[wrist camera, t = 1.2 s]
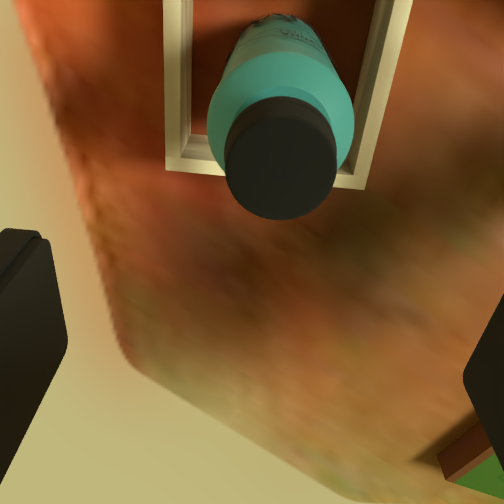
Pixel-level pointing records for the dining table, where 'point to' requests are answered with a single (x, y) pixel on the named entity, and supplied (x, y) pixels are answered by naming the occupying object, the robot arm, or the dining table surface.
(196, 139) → the wooden frame
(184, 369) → the dining table surface
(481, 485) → the hardcover book
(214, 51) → the dining table surface
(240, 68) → the beverage bottle
